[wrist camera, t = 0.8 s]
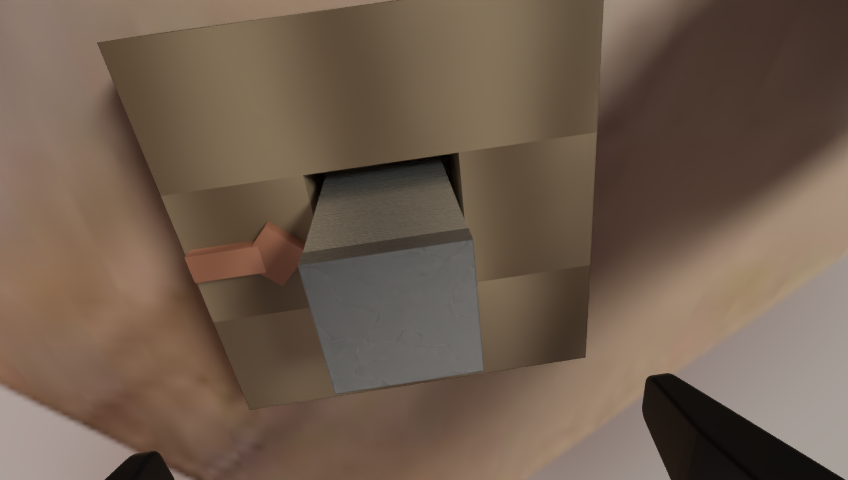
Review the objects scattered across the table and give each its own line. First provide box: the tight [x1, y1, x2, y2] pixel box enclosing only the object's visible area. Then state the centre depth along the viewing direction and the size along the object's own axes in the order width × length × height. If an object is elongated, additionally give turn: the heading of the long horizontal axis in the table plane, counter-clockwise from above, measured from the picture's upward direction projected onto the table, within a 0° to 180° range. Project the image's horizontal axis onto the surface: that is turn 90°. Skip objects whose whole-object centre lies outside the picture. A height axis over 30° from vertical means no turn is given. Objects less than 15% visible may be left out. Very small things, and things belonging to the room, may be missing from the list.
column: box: [298, 155, 484, 394], centre depth 15 cm, size 4×4×8 cm
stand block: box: [97, 0, 604, 410], centre depth 17 cm, size 14×14×4 cm
